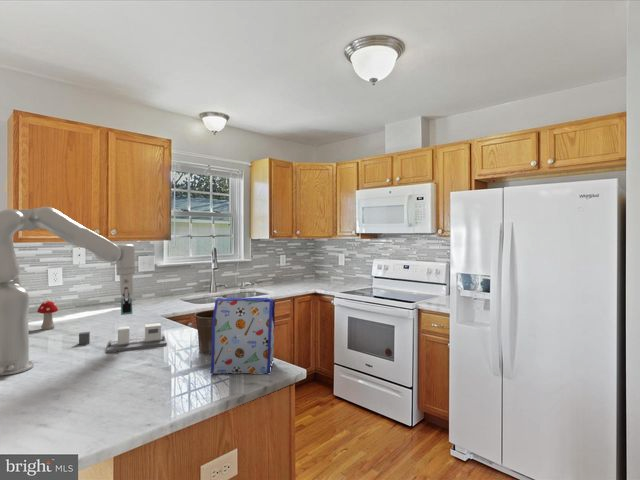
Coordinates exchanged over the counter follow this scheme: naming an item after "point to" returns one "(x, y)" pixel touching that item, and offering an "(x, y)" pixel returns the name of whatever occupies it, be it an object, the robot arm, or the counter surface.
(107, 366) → the counter surface
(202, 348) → the plant pot
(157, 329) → the block
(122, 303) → the teal module
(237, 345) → the lunch bag
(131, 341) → the metal rail
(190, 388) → the counter surface
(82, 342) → the grey rectangular block
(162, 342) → the board
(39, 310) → the decorative mushroom
